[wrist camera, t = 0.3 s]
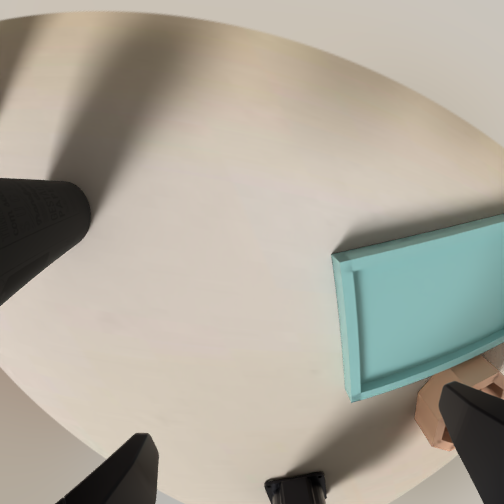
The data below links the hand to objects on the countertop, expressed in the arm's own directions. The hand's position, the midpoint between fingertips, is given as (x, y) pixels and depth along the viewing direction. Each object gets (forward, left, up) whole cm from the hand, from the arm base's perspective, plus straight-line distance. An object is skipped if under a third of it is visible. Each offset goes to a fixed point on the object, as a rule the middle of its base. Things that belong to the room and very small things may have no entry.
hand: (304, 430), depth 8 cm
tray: (-6, -14, -14) cm, 20 cm away
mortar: (-17, -17, -14) cm, 28 cm away
